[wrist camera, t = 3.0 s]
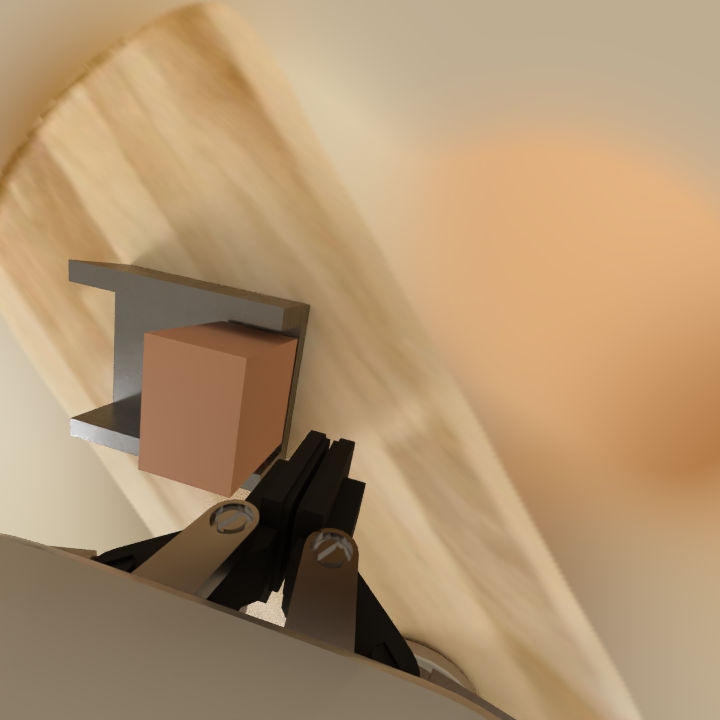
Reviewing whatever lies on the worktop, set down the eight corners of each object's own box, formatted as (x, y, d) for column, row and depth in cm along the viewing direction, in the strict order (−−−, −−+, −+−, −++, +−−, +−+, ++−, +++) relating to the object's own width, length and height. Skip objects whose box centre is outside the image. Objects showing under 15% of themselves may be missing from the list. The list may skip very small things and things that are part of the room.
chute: (310, 304, 21) (284, 308, 17) (285, 459, 23) (257, 493, 20) (129, 264, 23) (68, 259, 19) (124, 413, 25) (70, 435, 21)
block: (297, 338, 20) (246, 358, 14) (281, 442, 22) (229, 498, 16) (222, 320, 21) (144, 332, 15) (212, 422, 22) (138, 469, 17)
